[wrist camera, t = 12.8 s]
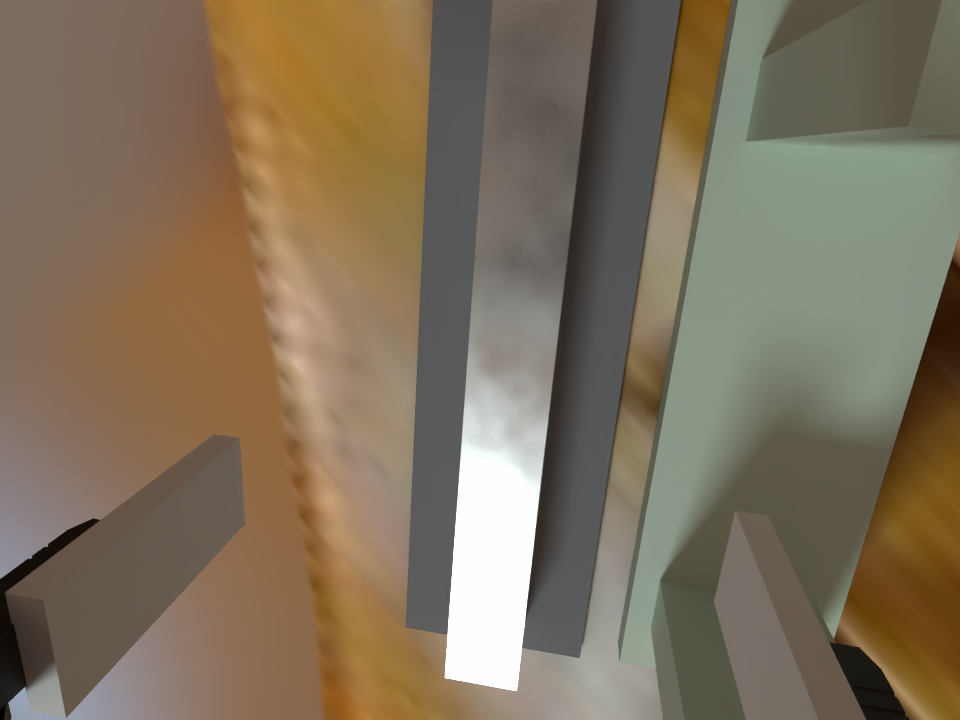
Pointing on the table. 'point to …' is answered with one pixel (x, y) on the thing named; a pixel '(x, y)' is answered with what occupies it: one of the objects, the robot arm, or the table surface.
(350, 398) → the table surface
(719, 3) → the table surface
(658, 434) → the notched post rack
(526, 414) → the steel rail
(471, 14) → the rubber mat
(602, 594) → the table surface
